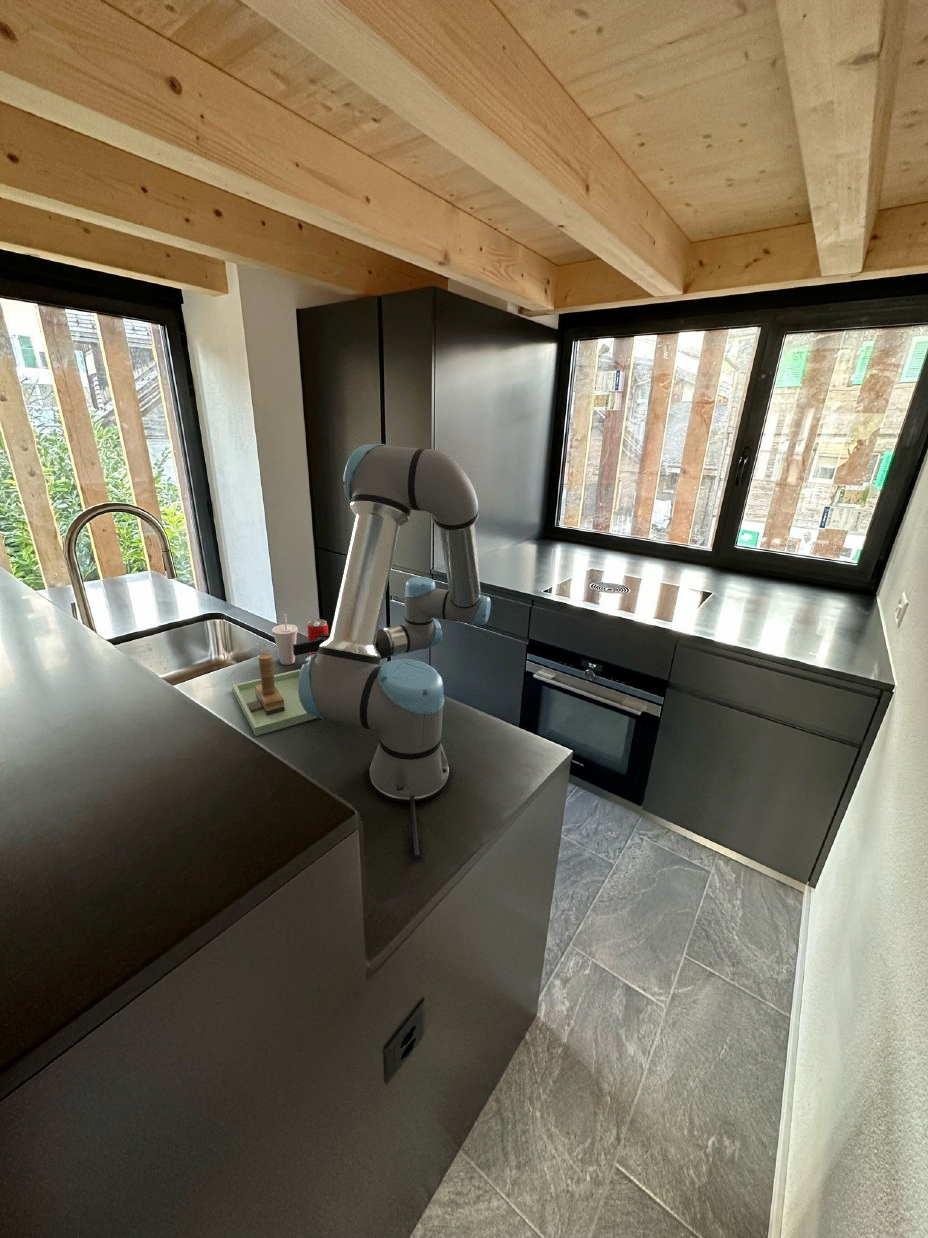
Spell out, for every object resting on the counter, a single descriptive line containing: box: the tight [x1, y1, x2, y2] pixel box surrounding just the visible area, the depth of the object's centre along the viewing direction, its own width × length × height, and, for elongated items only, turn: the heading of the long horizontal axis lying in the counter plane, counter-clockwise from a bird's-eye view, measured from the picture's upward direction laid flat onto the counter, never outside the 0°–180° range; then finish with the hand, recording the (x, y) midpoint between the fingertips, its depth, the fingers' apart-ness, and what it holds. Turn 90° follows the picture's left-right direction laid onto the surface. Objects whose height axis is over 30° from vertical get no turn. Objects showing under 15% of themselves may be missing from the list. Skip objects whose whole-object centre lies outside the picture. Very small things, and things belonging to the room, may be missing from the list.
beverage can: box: [306, 618, 329, 657], centre depth 136 cm, size 5×5×12 cm
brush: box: [255, 652, 285, 716], centre depth 116 cm, size 9×4×12 cm, turn 35°
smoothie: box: [271, 613, 299, 666], centre depth 135 cm, size 6×6×14 cm
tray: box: [232, 668, 319, 737], centre depth 120 cm, size 20×17×2 cm
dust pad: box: [247, 700, 263, 712], centre depth 116 cm, size 3×3×1 cm
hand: (303, 662), depth 119 cm, fingers open, 13 cm apart
